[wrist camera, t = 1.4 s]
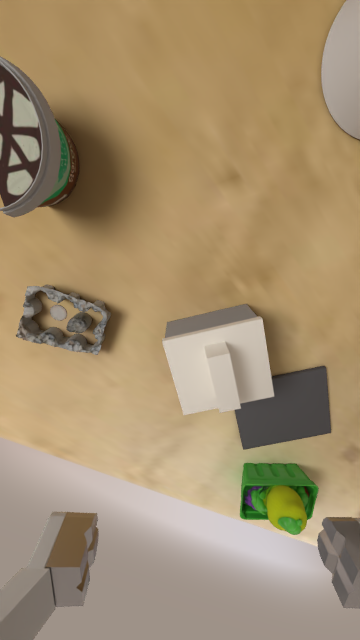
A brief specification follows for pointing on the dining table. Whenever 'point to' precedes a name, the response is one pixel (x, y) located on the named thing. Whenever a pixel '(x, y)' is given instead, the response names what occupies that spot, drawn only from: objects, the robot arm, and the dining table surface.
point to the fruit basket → (277, 495)
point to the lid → (220, 366)
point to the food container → (31, 147)
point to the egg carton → (53, 334)
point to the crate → (209, 320)
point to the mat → (287, 410)
